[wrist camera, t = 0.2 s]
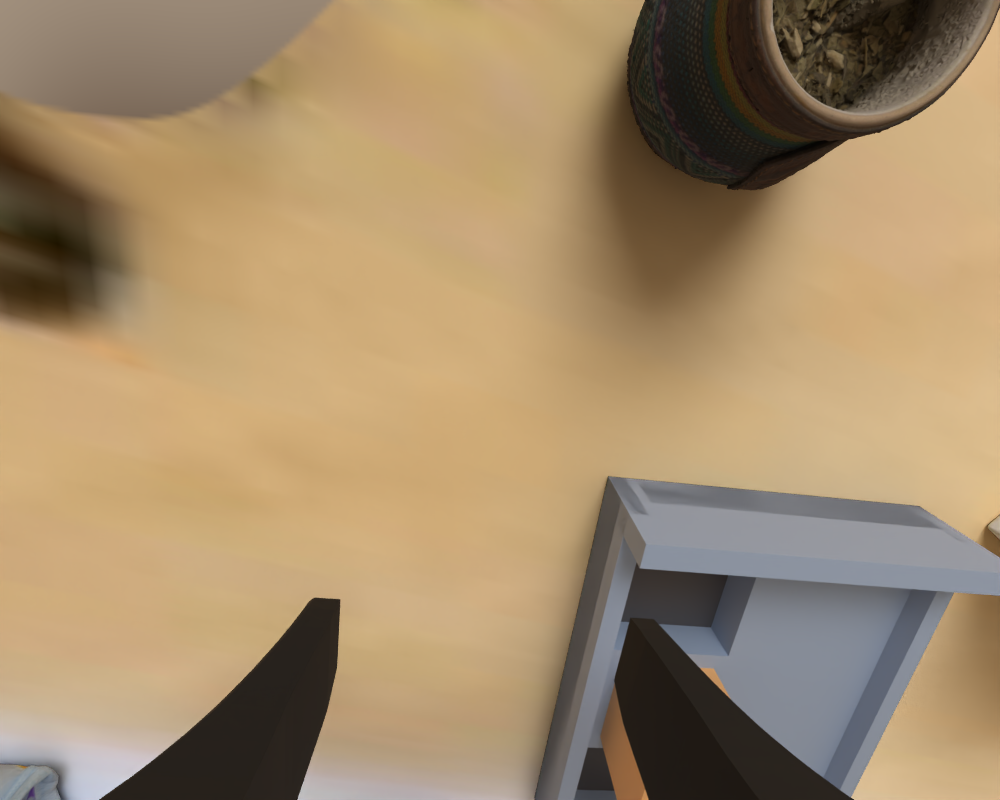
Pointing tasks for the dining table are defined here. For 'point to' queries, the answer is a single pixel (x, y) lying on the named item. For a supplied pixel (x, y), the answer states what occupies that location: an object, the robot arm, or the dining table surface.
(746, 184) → the mate gourd
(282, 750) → the robot arm
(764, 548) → the tray
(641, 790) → the block
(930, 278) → the dining table surface
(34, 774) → the lunch bag
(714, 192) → the dining table surface
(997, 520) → the small box
